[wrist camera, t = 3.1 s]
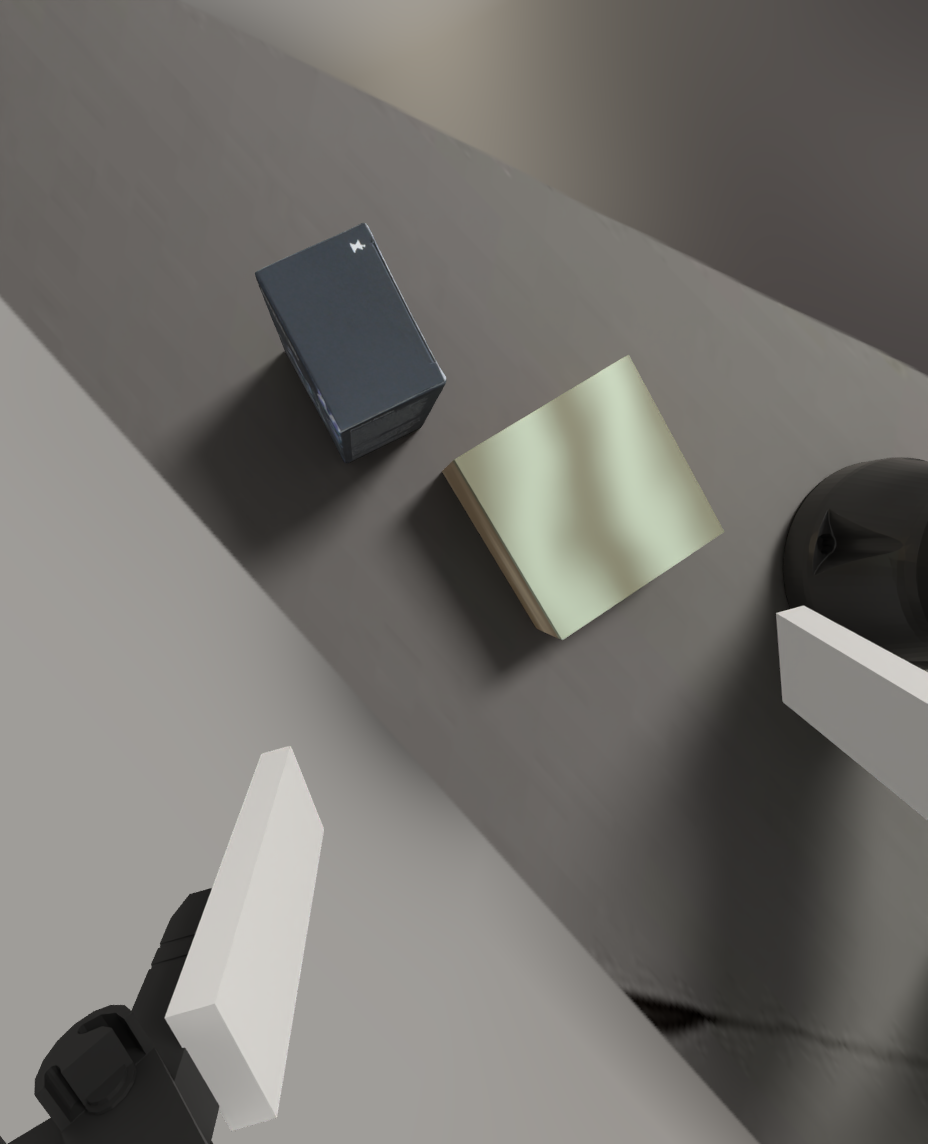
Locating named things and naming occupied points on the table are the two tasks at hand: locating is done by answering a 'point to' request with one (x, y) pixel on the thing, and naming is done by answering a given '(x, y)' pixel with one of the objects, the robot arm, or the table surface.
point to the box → (352, 341)
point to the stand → (584, 500)
